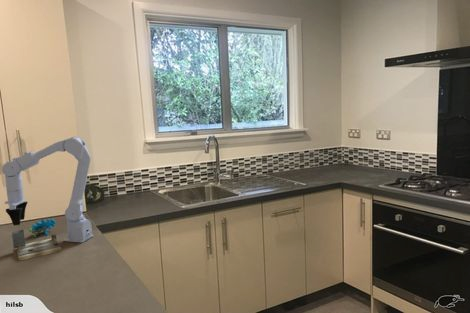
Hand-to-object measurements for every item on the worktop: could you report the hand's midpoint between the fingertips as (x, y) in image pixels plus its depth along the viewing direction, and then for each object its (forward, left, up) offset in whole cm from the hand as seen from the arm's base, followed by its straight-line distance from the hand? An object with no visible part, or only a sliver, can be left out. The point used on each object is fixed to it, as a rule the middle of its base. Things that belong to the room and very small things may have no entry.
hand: (19, 222), depth 147 cm
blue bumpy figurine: (+3, -14, -11) cm, 18 cm away
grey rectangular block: (-6, +6, -8) cm, 12 cm away
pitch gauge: (-11, +2, -10) cm, 15 cm away
